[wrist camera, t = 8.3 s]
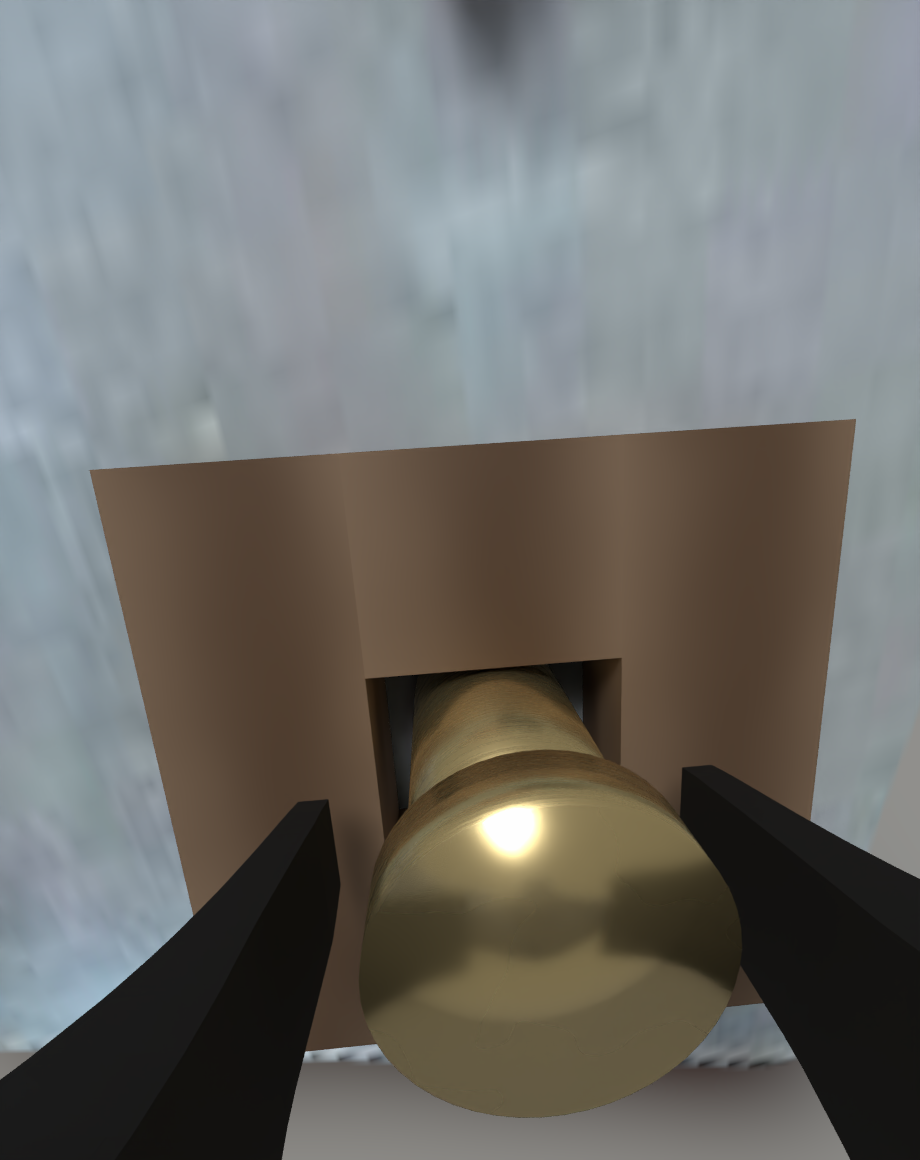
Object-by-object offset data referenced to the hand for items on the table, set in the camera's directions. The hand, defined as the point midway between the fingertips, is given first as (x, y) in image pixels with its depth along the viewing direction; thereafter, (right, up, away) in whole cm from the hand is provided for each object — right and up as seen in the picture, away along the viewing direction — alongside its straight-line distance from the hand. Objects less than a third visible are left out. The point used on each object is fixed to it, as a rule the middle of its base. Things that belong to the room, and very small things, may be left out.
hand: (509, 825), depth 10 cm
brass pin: (0, +2, +4) cm, 4 cm away
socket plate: (0, +1, +4) cm, 4 cm away
